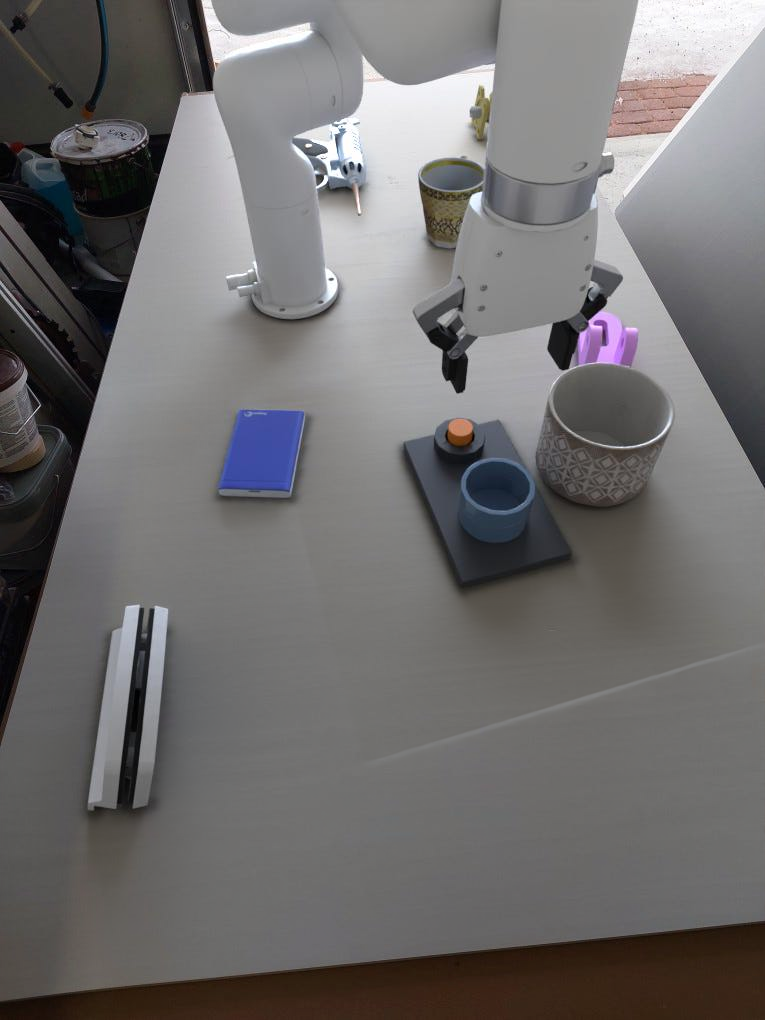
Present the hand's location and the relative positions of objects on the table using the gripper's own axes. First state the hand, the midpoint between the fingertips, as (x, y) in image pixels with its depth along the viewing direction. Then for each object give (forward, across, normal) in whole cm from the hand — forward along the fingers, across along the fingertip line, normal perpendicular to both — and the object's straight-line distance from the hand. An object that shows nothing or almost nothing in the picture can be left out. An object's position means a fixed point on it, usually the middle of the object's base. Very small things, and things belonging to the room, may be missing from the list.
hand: (506, 371), depth 61 cm
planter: (+20, -13, -1) cm, 24 cm away
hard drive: (+20, +22, -14) cm, 33 cm away
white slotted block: (+20, +38, +14) cm, 45 cm away
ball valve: (+21, -33, -82) cm, 91 cm away
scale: (+20, 0, 0) cm, 20 cm away
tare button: (+17, 0, -8) cm, 19 cm away
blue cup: (+18, 0, +3) cm, 18 cm away
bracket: (+20, -24, -20) cm, 37 cm away
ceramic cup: (+21, -14, -52) cm, 58 cm away
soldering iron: (+21, +2, -74) cm, 77 cm away
